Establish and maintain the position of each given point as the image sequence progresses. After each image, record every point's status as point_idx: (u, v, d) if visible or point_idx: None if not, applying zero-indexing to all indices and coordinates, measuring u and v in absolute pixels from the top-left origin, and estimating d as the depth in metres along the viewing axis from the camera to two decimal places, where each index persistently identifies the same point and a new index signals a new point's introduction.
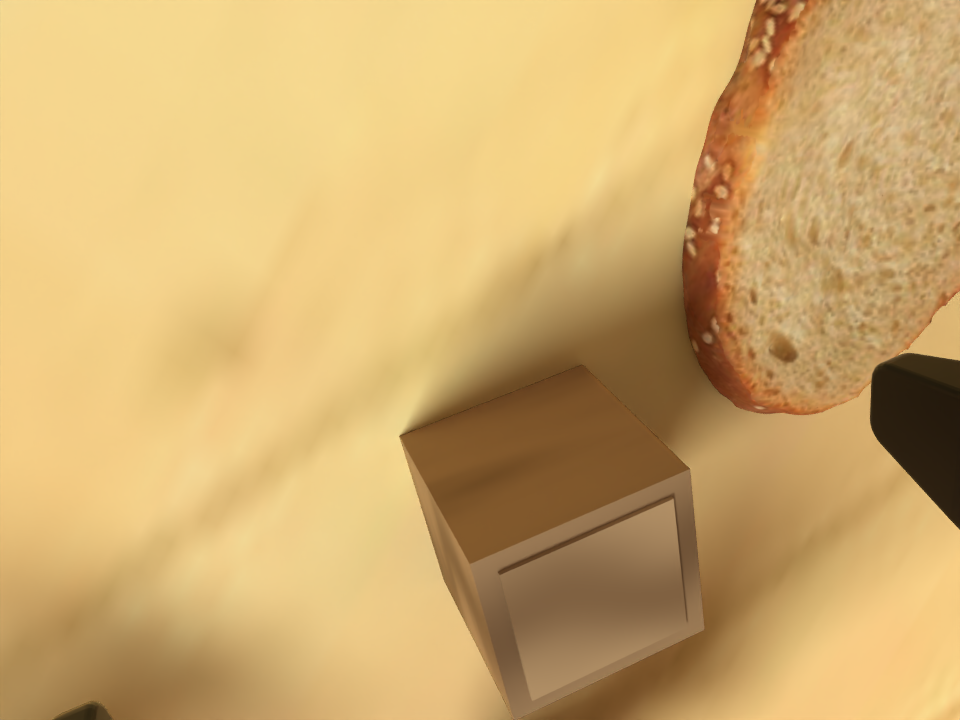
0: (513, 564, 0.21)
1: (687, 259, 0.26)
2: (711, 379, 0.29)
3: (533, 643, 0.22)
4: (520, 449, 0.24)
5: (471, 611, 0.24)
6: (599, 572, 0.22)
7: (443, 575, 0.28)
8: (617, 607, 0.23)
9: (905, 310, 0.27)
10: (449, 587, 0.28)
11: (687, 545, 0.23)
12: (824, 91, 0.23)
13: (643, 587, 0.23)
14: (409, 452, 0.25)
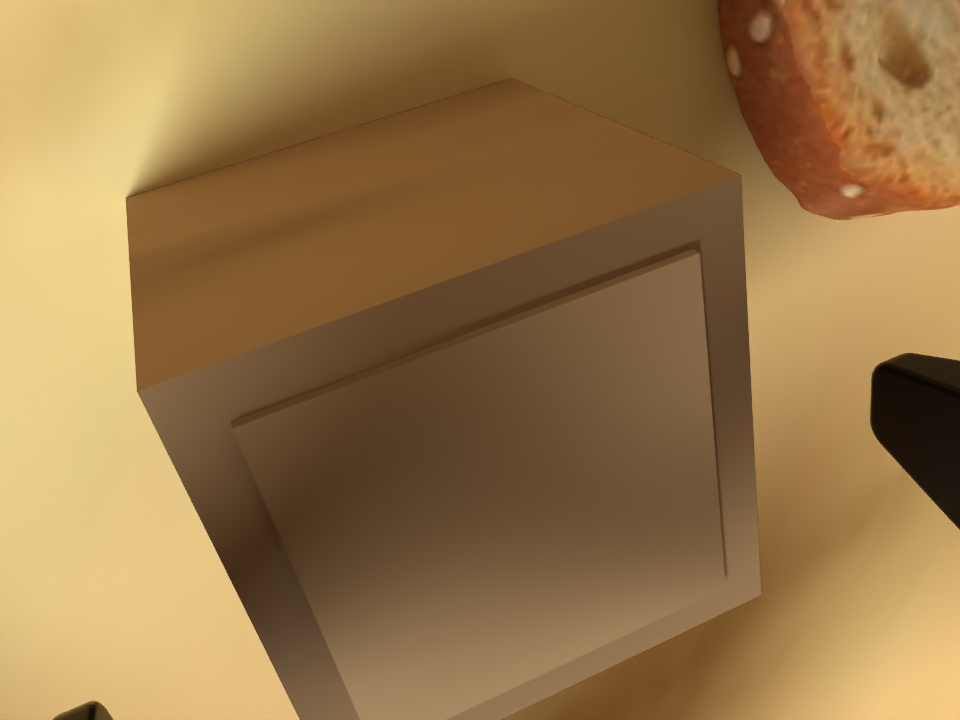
0: (275, 402, 0.08)
1: None
2: (762, 139, 0.15)
3: (360, 618, 0.09)
4: (353, 188, 0.11)
5: None
6: (516, 441, 0.09)
7: None
8: (566, 535, 0.10)
9: None
10: None
11: (730, 391, 0.10)
12: None
13: (627, 488, 0.10)
14: (129, 216, 0.12)
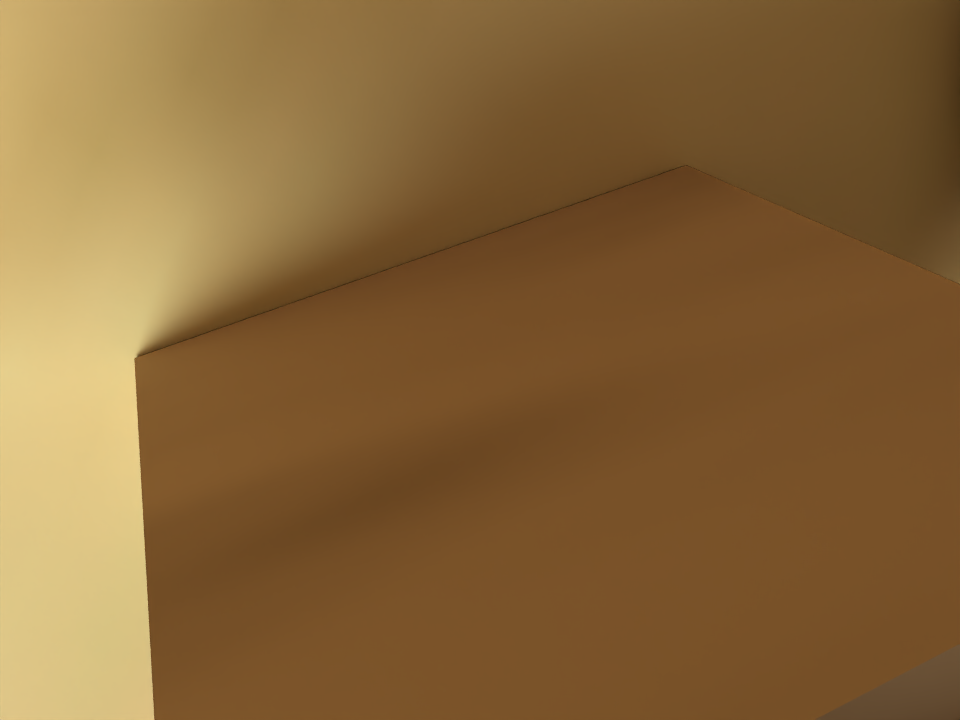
0: None
1: None
2: None
3: None
4: (512, 386, 0.06)
5: None
6: None
7: None
8: None
9: None
10: None
11: None
12: None
13: None
14: (141, 407, 0.07)
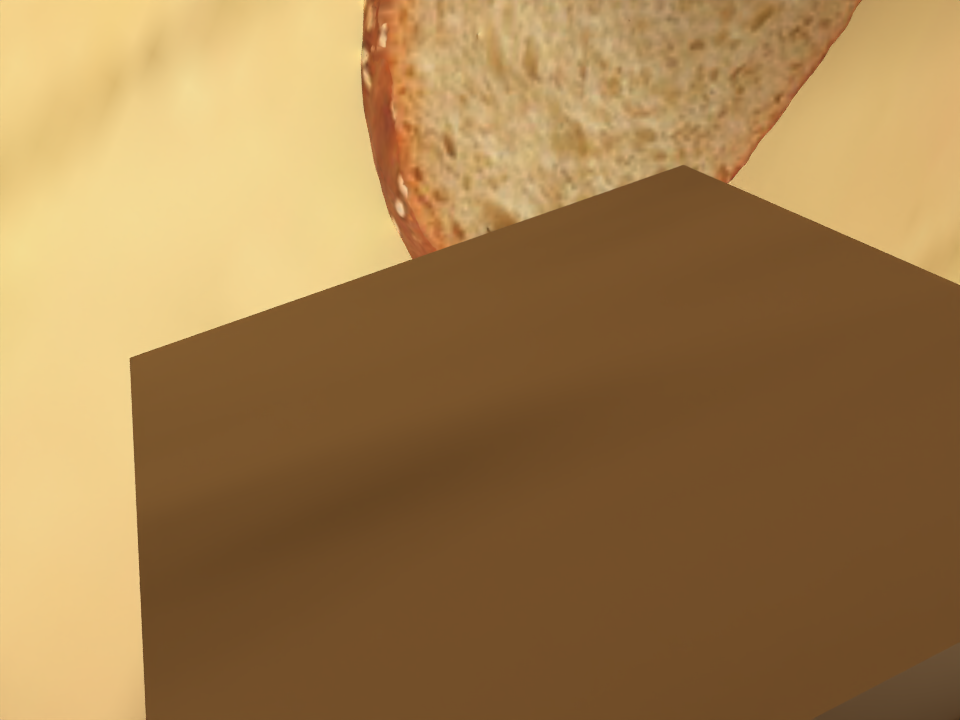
0: None
1: (365, 94, 0.19)
2: None
3: None
4: (508, 387, 0.06)
5: None
6: None
7: None
8: None
9: None
10: None
11: None
12: None
13: None
14: (136, 407, 0.07)
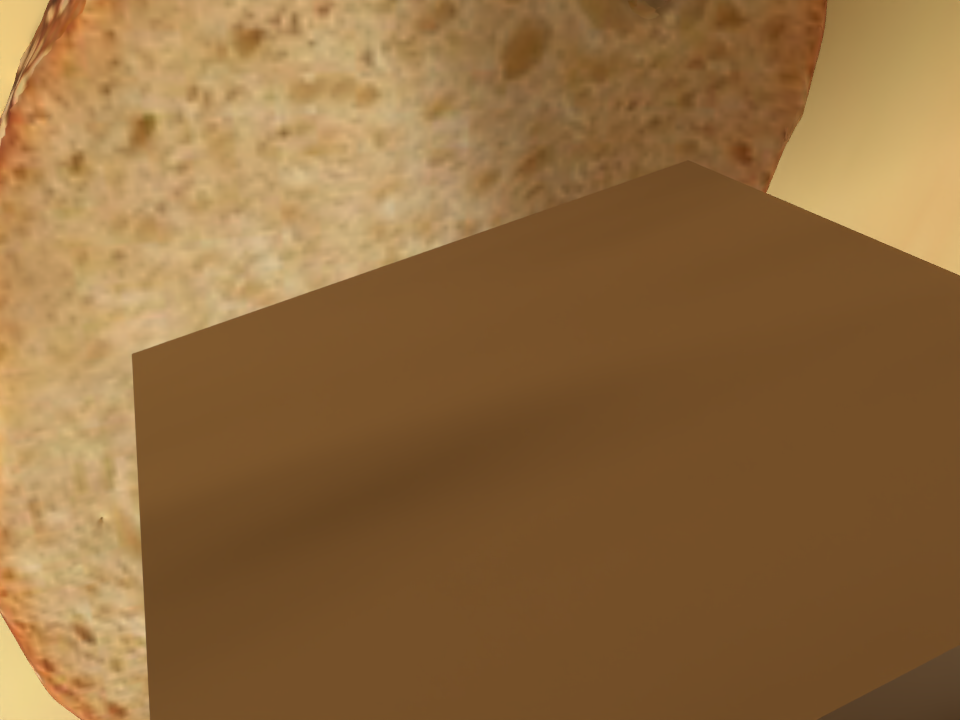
0: None
1: None
2: None
3: None
4: (512, 381, 0.06)
5: None
6: None
7: None
8: None
9: None
10: None
11: None
12: (102, 324, 0.13)
13: None
14: (138, 402, 0.07)
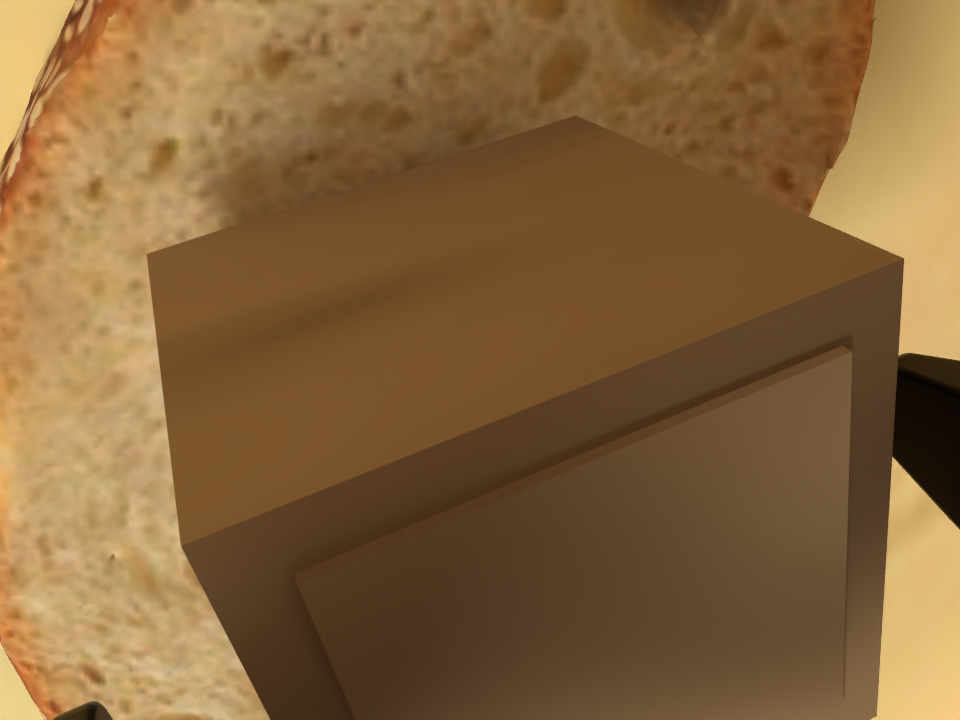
0: (349, 547, 0.06)
1: None
2: None
3: None
4: (417, 255, 0.09)
5: None
6: (628, 574, 0.07)
7: None
8: (675, 673, 0.08)
9: None
10: None
11: (866, 502, 0.08)
12: (117, 356, 0.12)
13: (747, 617, 0.08)
14: (152, 281, 0.10)
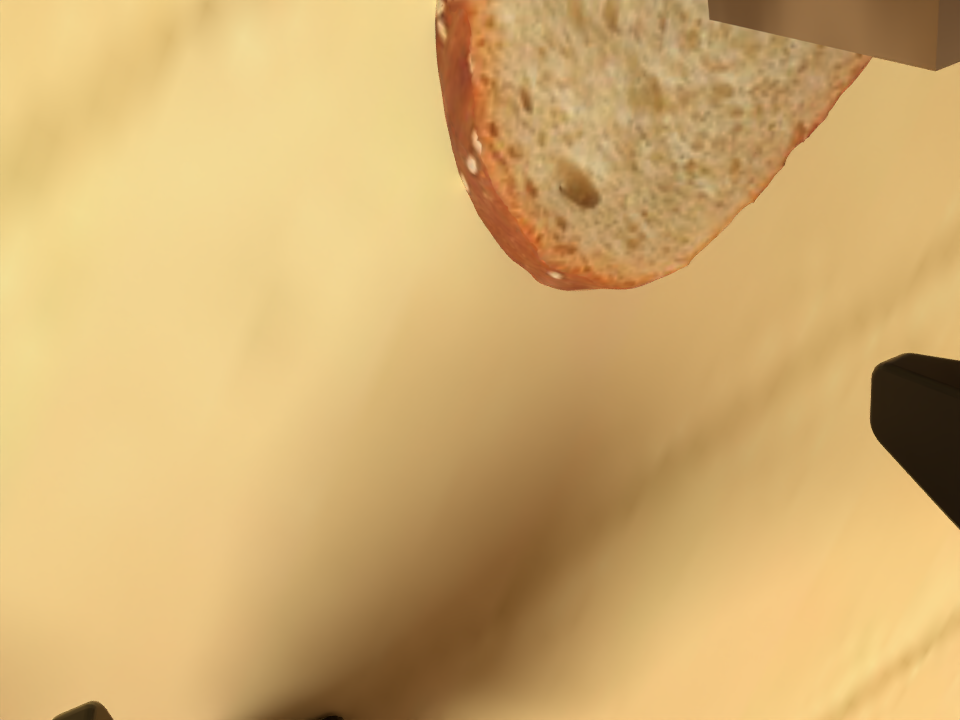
0: None
1: (439, 47, 0.19)
2: (494, 235, 0.21)
3: None
4: None
5: None
6: None
7: None
8: None
9: (748, 145, 0.20)
10: (733, 2, 0.17)
11: None
12: None
13: None
14: None
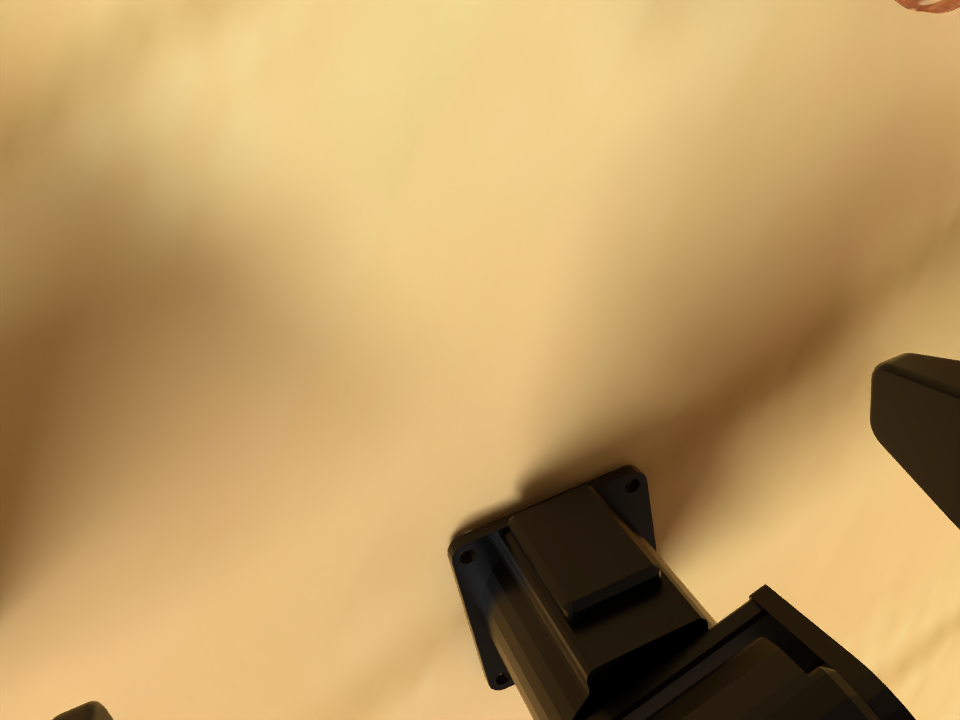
0: None
1: None
2: None
3: None
4: None
5: None
6: None
7: None
8: None
9: None
10: None
11: None
12: None
13: None
14: None
